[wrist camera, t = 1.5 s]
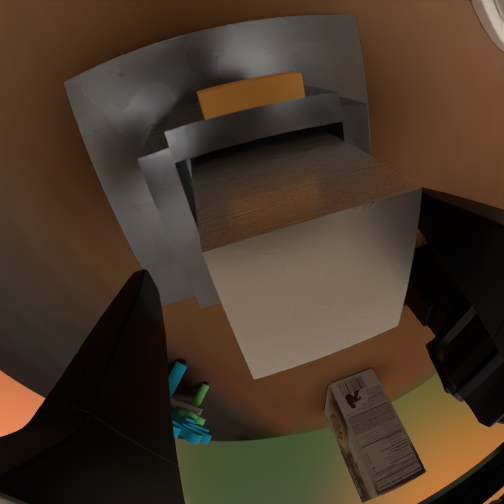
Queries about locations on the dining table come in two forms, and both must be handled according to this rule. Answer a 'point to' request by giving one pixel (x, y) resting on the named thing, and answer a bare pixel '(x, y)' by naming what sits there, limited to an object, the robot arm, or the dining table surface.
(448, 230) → the robot arm
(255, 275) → the block
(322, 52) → the stand
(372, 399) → the coffee box
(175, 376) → the blue angular plastic piece
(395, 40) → the dining table surface
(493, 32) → the decorative container
